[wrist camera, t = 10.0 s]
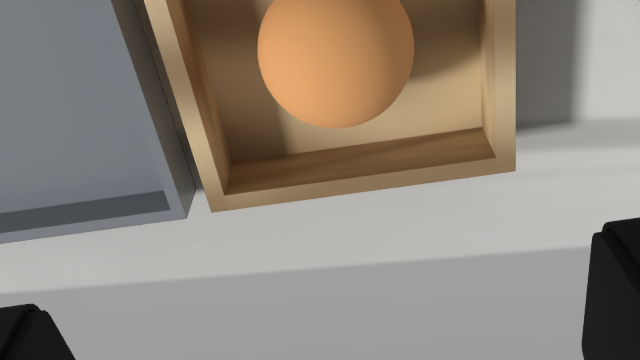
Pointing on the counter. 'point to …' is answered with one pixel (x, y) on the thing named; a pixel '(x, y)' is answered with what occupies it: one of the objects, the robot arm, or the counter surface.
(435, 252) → the counter surface
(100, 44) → the container
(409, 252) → the counter surface
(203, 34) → the tray
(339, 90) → the ball
